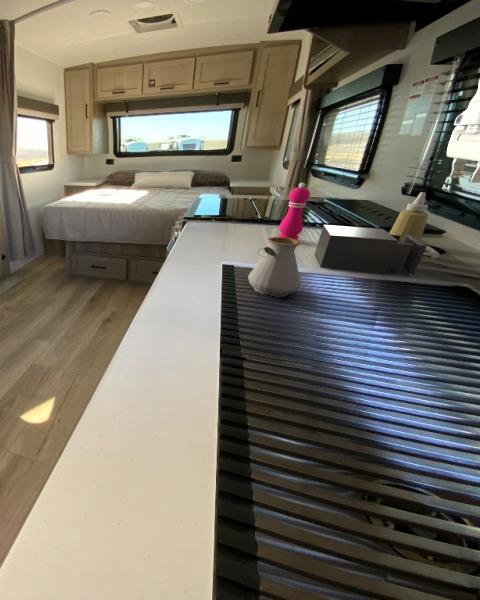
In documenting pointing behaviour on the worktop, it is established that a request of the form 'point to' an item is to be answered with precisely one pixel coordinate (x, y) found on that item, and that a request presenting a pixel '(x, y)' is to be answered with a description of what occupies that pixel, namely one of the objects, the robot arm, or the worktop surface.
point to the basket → (409, 254)
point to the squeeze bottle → (411, 219)
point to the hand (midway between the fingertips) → (464, 180)
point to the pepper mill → (294, 213)
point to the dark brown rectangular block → (355, 249)
